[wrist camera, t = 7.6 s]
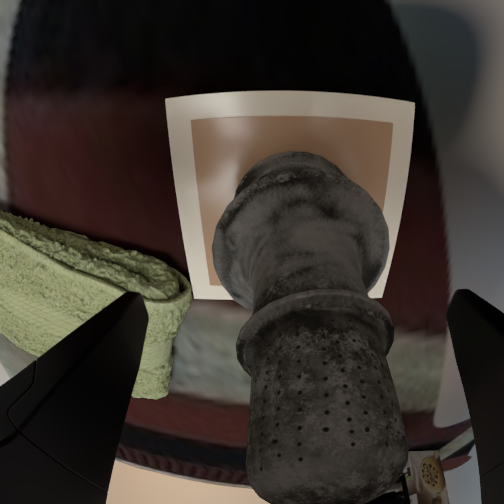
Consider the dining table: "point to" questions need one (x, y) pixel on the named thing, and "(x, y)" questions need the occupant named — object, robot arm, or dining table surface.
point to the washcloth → (85, 293)
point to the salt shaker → (312, 332)
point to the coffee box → (425, 478)
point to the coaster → (274, 142)
